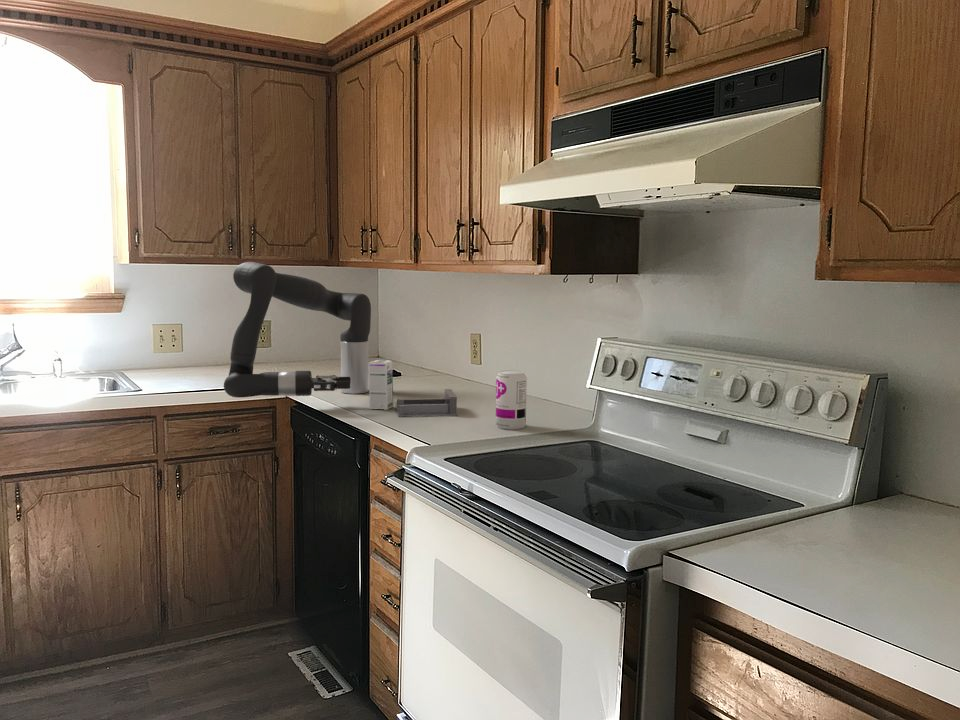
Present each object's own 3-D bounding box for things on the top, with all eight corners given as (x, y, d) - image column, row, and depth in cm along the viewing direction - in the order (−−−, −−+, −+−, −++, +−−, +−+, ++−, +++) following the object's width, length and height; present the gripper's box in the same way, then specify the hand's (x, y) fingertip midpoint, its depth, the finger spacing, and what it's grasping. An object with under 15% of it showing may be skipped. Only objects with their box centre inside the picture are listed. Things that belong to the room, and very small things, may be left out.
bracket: (396, 407, 246) (396, 390, 245) (451, 406, 248) (452, 389, 247) (398, 416, 232) (398, 398, 231) (457, 415, 234) (457, 396, 234)
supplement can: (501, 430, 215) (501, 374, 213) (492, 424, 222) (492, 370, 220) (530, 429, 217) (531, 373, 215) (520, 423, 225) (520, 369, 223)
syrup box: (387, 410, 242) (387, 362, 240) (368, 409, 243) (368, 361, 241) (393, 407, 247) (393, 359, 245) (375, 406, 248) (374, 359, 247)
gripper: (292, 374, 233) (349, 373, 235) (296, 367, 247) (350, 366, 249) (293, 400, 234) (350, 399, 236) (297, 391, 248) (350, 390, 250)
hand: (350, 382), depth 243 cm, fingers open, 8 cm apart
